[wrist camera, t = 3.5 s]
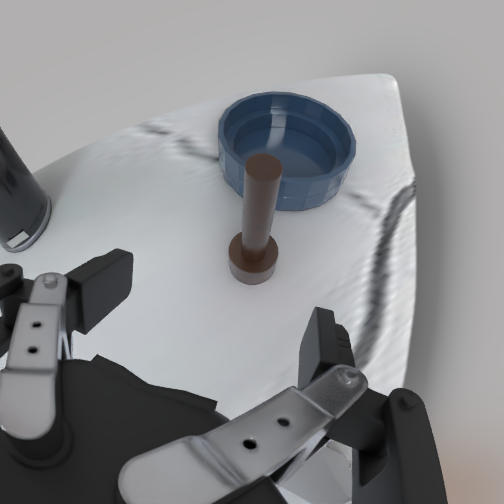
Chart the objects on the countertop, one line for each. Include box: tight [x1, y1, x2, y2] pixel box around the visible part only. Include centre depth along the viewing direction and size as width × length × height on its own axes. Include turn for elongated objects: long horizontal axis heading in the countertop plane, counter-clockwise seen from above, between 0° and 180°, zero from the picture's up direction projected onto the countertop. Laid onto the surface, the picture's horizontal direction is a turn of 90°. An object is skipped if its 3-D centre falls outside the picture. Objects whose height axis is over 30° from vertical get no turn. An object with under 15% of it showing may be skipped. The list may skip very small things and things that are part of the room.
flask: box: [278, 446, 352, 504], centre depth 16 cm, size 7×7×10 cm
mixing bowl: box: [218, 92, 356, 211], centre depth 33 cm, size 15×15×6 cm
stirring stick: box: [229, 153, 283, 285], centre depth 23 cm, size 4×4×14 cm
